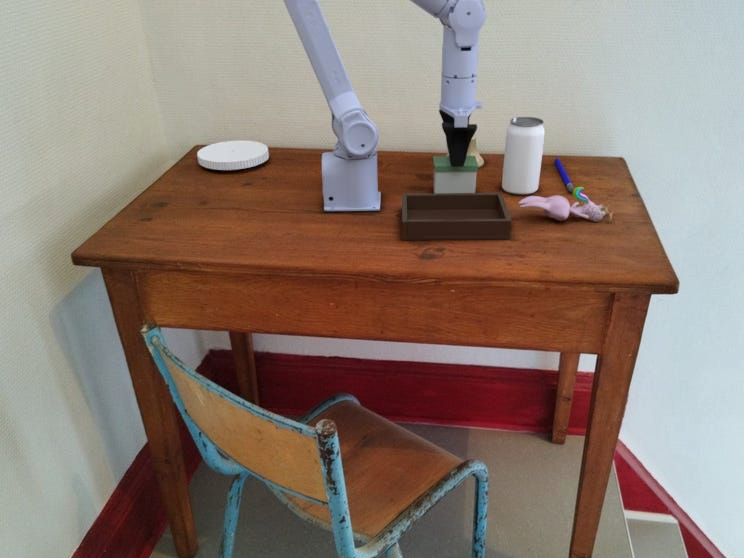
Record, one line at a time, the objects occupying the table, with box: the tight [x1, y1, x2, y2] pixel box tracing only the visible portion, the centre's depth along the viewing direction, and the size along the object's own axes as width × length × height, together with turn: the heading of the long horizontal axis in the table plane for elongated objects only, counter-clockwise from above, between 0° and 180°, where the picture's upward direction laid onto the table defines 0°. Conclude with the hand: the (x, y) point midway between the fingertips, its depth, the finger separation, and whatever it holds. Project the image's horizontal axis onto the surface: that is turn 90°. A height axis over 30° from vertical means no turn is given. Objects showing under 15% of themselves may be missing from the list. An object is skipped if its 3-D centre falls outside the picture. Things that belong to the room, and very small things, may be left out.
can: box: [501, 116, 546, 196], centre depth 115 cm, size 6×6×12 cm
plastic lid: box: [196, 139, 270, 171], centre depth 133 cm, size 14×14×2 cm
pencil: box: [554, 158, 575, 193], centre depth 123 cm, size 17×1×1 cm, turn 177°
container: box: [432, 155, 479, 193], centre depth 116 cm, size 7×5×6 cm
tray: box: [401, 192, 512, 241], centre depth 106 cm, size 17×12×3 cm
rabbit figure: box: [518, 186, 614, 223], centre depth 106 cm, size 6×6×15 cm
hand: (455, 158), depth 114 cm, fingers open, 7 cm apart
